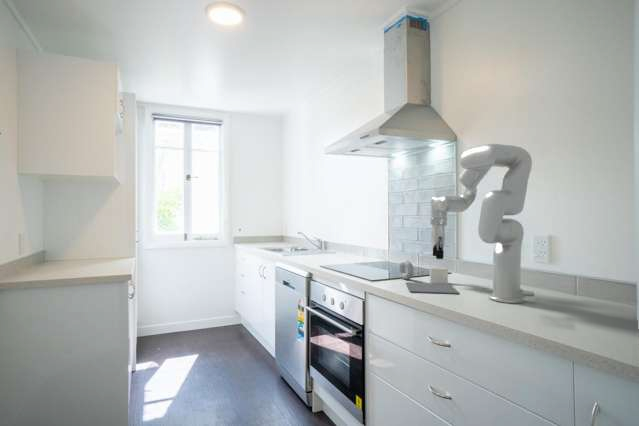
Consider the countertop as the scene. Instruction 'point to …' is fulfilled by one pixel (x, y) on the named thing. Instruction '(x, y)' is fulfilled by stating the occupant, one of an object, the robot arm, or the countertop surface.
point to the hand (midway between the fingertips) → (437, 257)
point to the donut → (409, 269)
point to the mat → (431, 288)
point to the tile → (438, 275)
